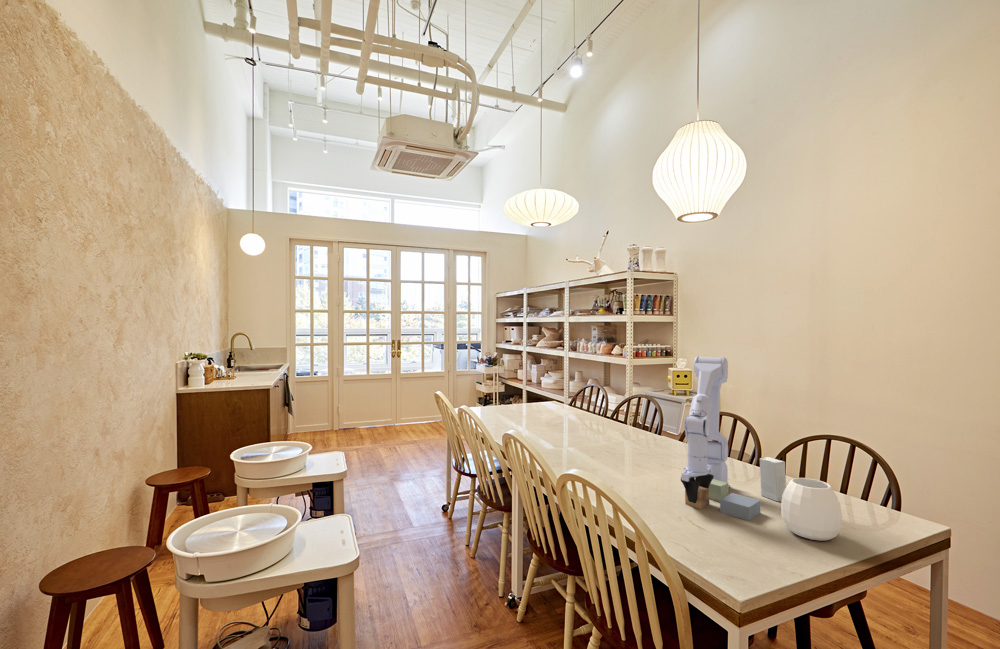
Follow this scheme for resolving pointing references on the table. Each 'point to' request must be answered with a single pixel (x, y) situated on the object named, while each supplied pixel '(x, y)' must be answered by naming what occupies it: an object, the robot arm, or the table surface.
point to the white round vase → (811, 509)
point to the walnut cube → (699, 498)
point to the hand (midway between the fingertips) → (697, 499)
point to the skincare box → (772, 478)
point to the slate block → (740, 506)
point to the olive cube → (718, 490)
